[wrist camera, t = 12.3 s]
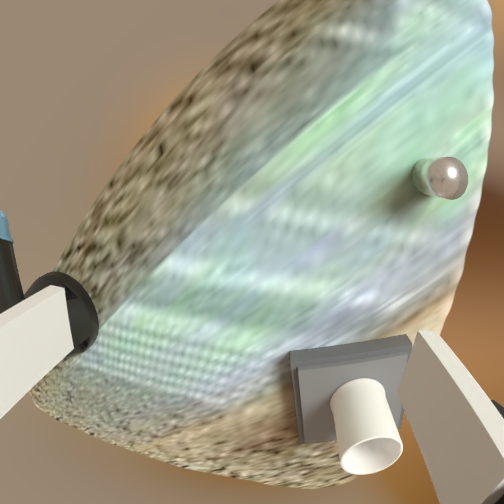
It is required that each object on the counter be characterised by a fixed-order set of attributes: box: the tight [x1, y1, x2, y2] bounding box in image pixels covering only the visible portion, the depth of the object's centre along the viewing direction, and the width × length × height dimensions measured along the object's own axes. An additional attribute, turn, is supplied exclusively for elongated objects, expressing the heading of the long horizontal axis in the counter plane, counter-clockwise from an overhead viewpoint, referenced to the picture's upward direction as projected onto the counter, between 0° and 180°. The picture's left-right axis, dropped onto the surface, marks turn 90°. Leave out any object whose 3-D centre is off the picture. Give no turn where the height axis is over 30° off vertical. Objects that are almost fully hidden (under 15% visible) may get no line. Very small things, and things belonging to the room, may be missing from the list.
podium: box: [290, 334, 412, 444], centre depth 45 cm, size 18×18×4 cm
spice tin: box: [412, 157, 468, 200], centre depth 34 cm, size 5×5×7 cm
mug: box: [330, 378, 403, 475], centre depth 37 cm, size 12×8×12 cm
